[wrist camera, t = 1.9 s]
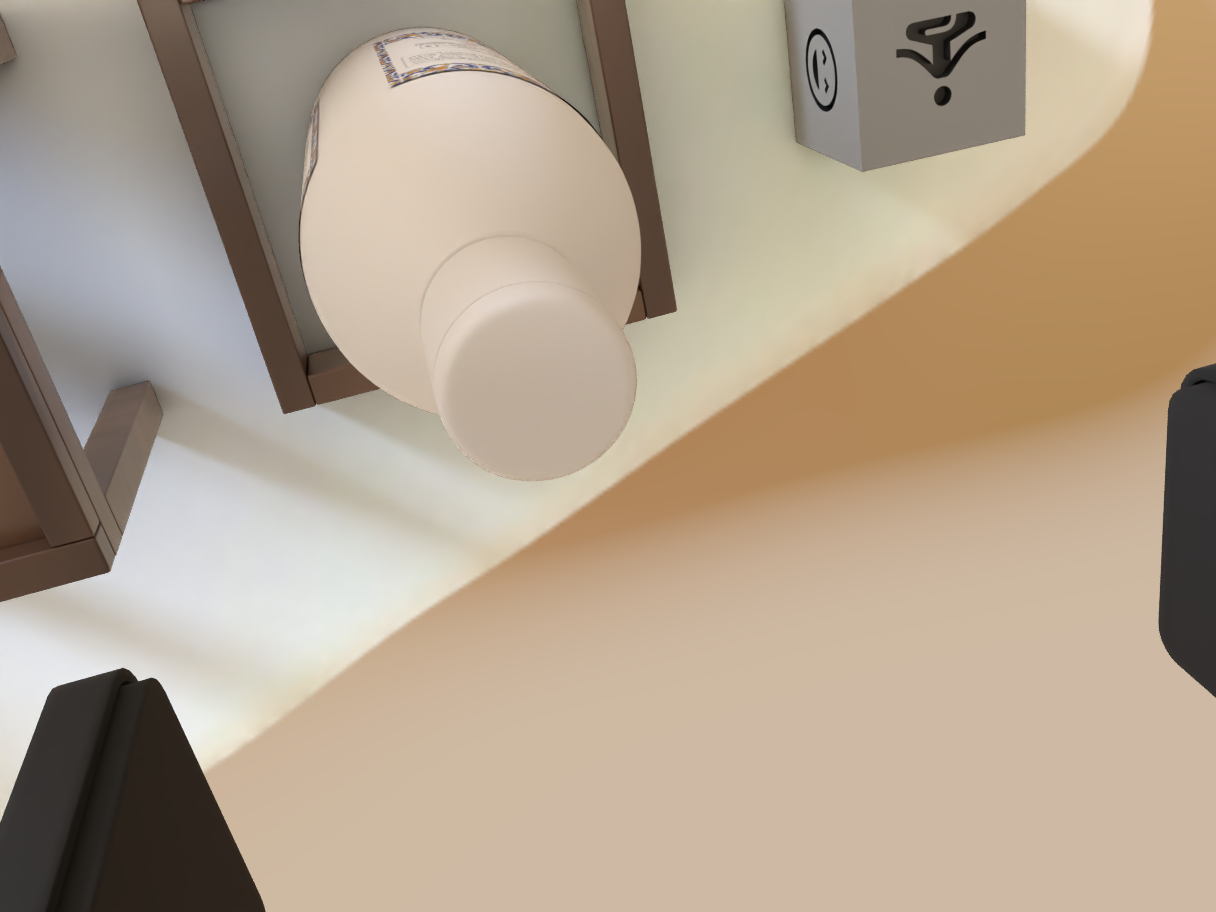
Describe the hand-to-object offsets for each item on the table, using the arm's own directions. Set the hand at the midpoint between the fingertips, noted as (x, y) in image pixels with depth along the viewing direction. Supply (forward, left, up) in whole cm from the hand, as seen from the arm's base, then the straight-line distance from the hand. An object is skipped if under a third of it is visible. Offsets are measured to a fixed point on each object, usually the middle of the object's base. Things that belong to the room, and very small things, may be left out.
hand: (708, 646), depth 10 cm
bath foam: (0, 0, -27) cm, 27 cm away
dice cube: (+14, 0, -27) cm, 30 cm away
